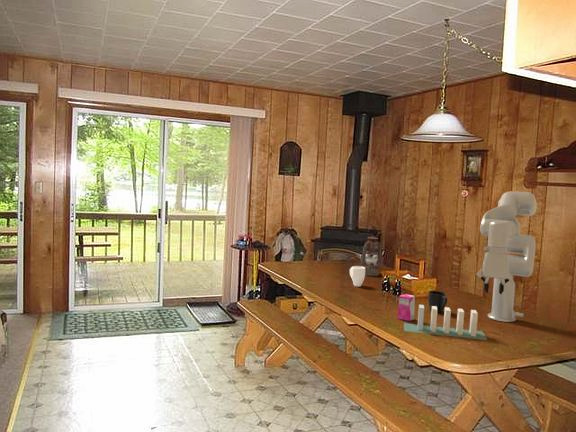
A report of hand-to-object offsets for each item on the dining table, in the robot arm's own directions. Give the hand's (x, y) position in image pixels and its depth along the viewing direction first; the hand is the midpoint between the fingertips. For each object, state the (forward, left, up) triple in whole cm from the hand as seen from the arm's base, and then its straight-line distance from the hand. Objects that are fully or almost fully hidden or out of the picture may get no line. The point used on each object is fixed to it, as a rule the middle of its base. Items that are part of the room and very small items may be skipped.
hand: (493, 292), depth 209 cm
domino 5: (+7, 0, -19) cm, 20 cm away
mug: (+19, -33, -20) cm, 43 cm away
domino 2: (+24, 0, -19) cm, 30 cm away
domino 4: (+13, 0, -19) cm, 23 cm away
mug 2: (+64, -78, -20) cm, 103 cm away
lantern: (+57, -116, -20) cm, 131 cm away
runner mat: (+19, 0, -19) cm, 27 cm away
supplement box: (+35, -13, -20) cm, 42 cm away
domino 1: (+29, 0, -19) cm, 35 cm away
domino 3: (+18, 0, -19) cm, 26 cm away
